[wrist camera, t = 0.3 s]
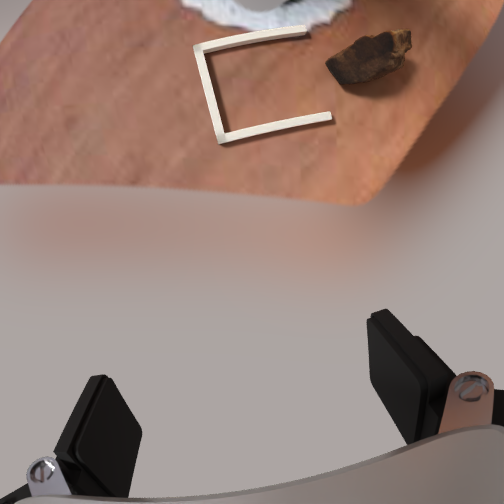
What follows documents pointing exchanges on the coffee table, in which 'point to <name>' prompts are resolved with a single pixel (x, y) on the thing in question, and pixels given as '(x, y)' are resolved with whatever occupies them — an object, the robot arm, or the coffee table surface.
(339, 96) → the coffee table surface
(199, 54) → the frame
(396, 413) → the robot arm
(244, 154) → the coffee table surface
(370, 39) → the decorative rock
